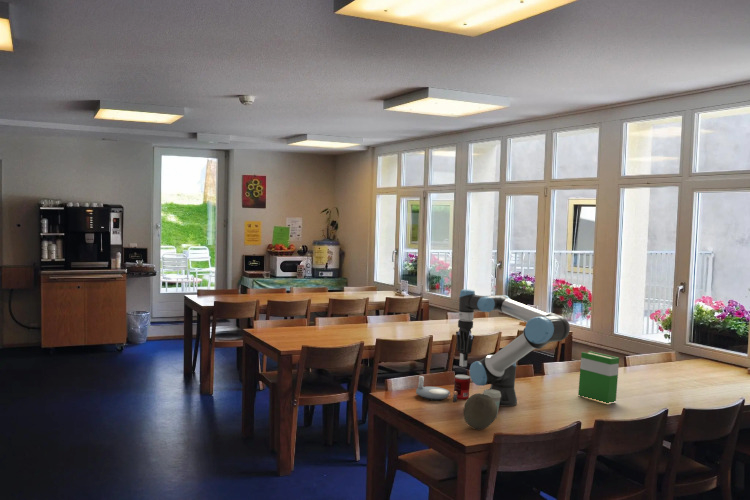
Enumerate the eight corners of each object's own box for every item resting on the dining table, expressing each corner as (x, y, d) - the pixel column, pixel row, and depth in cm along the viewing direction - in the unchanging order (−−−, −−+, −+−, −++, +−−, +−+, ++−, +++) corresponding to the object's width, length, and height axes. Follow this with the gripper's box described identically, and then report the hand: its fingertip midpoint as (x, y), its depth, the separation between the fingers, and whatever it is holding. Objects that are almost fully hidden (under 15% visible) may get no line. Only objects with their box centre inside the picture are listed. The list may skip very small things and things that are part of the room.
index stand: (457, 401, 321) (458, 391, 320) (444, 405, 313) (445, 394, 313) (431, 393, 332) (432, 383, 332) (418, 397, 325) (419, 386, 325)
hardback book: (578, 396, 346) (581, 352, 345) (586, 394, 350) (589, 351, 349) (607, 405, 332) (611, 358, 331) (615, 403, 336) (619, 357, 335)
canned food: (470, 396, 331) (471, 375, 331) (467, 400, 324) (468, 379, 323) (455, 394, 334) (456, 373, 333) (452, 398, 326) (453, 376, 326)
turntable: (452, 391, 331) (453, 377, 331) (450, 400, 315) (451, 385, 314) (418, 388, 335) (419, 373, 334) (414, 396, 318) (415, 381, 318)
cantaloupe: (484, 436, 270) (486, 400, 269) (456, 427, 279) (458, 393, 279) (501, 429, 280) (504, 395, 280) (474, 421, 290) (476, 388, 289)
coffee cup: (479, 413, 302) (480, 388, 302) (496, 414, 303) (498, 389, 302) (483, 419, 294) (485, 393, 293) (501, 420, 294) (503, 394, 294)
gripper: (451, 318, 331) (449, 363, 332) (467, 322, 319) (464, 369, 320) (463, 317, 335) (461, 363, 336) (480, 322, 322) (477, 368, 323)
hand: (463, 366), depth 328 cm, fingers closed
